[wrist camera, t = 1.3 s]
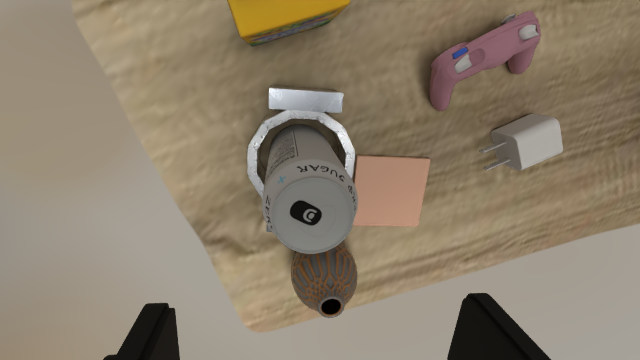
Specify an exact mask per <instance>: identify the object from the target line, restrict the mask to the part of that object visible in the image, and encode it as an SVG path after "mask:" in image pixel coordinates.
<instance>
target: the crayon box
mask: <svg viewBox="0 0 640 360" xmlns="http://www.w3.org/2000/svg"><path fill="white" fill-rule="evenodd" d="M227 2H228V5H229V7H230V10H231V13H232V16H233V19H234V21H235V24H236V27H237V30H238V33H239V36H240V37H241V38H243V39H244V40H245V41H246V42H248V43H249V44H250V45H251V46H255V45H258V44H262V43H265V42H268V41H272V40H275V39H278V38H281V37H285V36H289V35H292V34H295V33H298V32H301V31H305V30H308V29H311V28H315V27H318V26H322V25H324V24H327V23H329V22H330V21H331V20H332V19H333V18H335V16H337V15H338V14H339V13H340V12H341V11H342V10H343V9H344V8H345V7H346V6H348V5H349V4H350V0H227Z"/></svg>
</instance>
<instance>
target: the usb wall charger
mask: <svg viewBox="0 0 640 360" xmlns="http://www.w3.org/2000/svg"><path fill="white" fill-rule="evenodd" d="M491 135H492V139H493V143H494V144H492V145H490V146H487V147H485V148H483V149H481V150H479V152H482V153H485V152H487V151H490V150H492V149H494V148H495V152H496V157H497V159H498V161H496V162H494V163H492V164H489V165H487V166H485V167H483V169H486V170H489V169H492V168H494V167H497V166H499V165H501V164H504V165H506V166H509V167H511V168H513V169H516V170H518V171H521V170H523V169H526V168H528V167H530V166H532V165H535V164H537V163H539V162H541V161H544V160H546V159H548V158H551V157H553V156H555V155H557V154H560V153H562V151H563V145H562V138H561V131H560V124H559V122H558V120H557V119H556V118H554V117H550V116H544V115H538V114H529V115H527V116H525V117H522V118H520V119H518V120H516V121H513V122H511V123H509V124H507V125H505V126H502V127H500V128H498V129H496V130H493V131H492V132H491ZM483 150H485V151H483ZM487 167H490V168H487Z"/></svg>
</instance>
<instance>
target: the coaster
mask: <svg viewBox="0 0 640 360" xmlns="http://www.w3.org/2000/svg"><path fill="white" fill-rule="evenodd" d="M430 161H431V159H430V158H418V157H394V156H371V155H357V157H356V166H355V174H354V184H355V187H356V190H357V195H358V208H357V212H356V215H355V218H354V222H353V225H355V226H418V222H419V217H420V212H421V207H422V202H423V197H424V192H425V186H426V181H427V176H428V171H429V166H430Z"/></svg>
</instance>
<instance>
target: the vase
mask: <svg viewBox="0 0 640 360" xmlns="http://www.w3.org/2000/svg"><path fill="white" fill-rule="evenodd" d="M291 278H292V284H293V287H294V290H295V292H296V294H297V296H298V297H299V299H300V300H301V301H302V302H303V303H304V304H305V305H306V306H308V307H309V308H311V309H313V310H315V311H318V312H319V313H320V314H321V315H322V316H324V317H327V318H333V317H336V316H338V315H340V314H341V313H342V311H343V310H344V307H345V305H346V304H347V303H348V302H349V300H350V299H351V298H352V296H353V294H354V292H355V289H356V285H357V267H356V264H355V261H354V258H353V256H352V254H351V253H350V251H349V250H348V249H347V248H346V246H345V245H343V244H342V243H340V244H338V245H337V246H335V247H334V248H332V249H330V250H328V251H325V252H321V253H316V254H306V253H300V252H296V254H295V256H294V259H293V262H292V268H291Z"/></svg>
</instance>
